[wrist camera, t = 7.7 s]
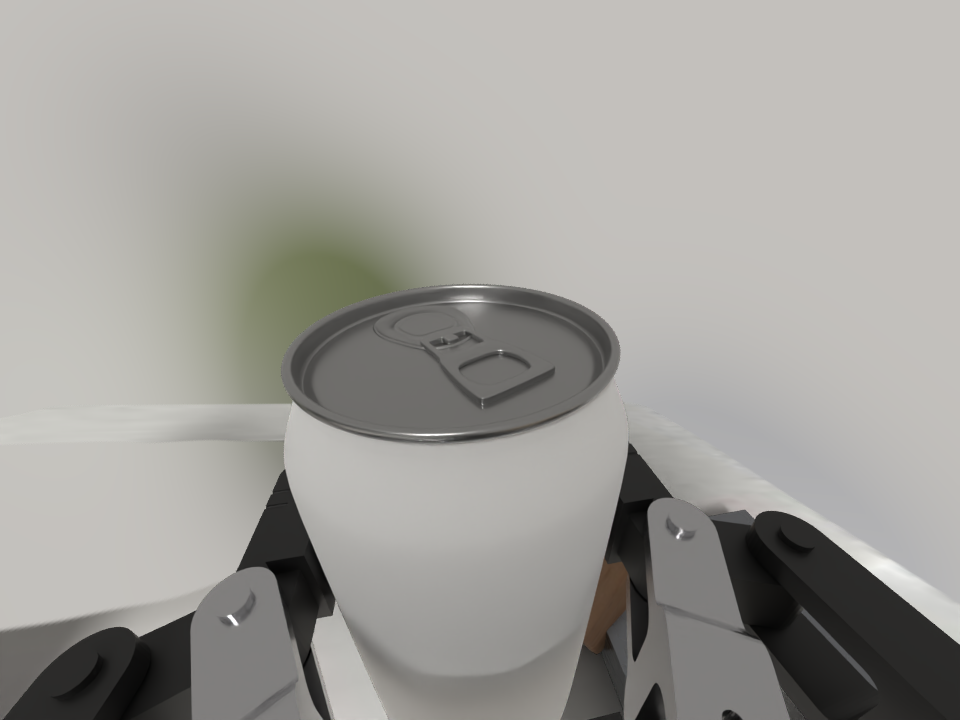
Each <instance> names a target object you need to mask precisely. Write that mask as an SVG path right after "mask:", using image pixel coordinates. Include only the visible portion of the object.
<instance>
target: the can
mask: <svg viewBox="0 0 960 720" xmlns="http://www.w3.org/2000/svg"><path fill="white" fill-rule="evenodd" d="M619 361H620V345H619V341H618V339H617V336H616V334H615V332H614V331H613V329H612V328H611V327H610V326H609V324H608V323H607V322H605V320H604V319H602V318H601V317H600V316H599V315H597V314H596V313H595V312H593V311H591V310H589V309H588V308H586V307H584V306H582V305H580V304H578V303H576V302H574V301H571V300H569V299H565V298H563V297H560V296H557V295H553V294H550V293H546V292H542V291H537V290H532V289H526V288H520V287H512V286H502V285H487V284H486V285H485V284H457V285H440V286H430V287H422V288H415V289H408V290H403V291H398V292H393V293H389V294H384V295H380V296H377V297H373V298H370V299H366V300H363V301H360V302H357V303H354V304H352V305H349V306H347V307H344V308H342V309H339V310H337V311H335V312H333V313H331V314H329V315H327V316H325V317H324V318H322V319H320V320H318V321H317V322H315V323H314V324H312V325H311V326H310V327H308V328H307V329H306V330H305V331H303V332H302V333H301V334H300V335H299V336H298V337H297V338H296V339H295V340H294V341H293V342H292V344H291V345H290V346H289V348H288V350H287V351H286V353H285V355H284V358H283V361H282V366H281V376H282V381H283V384H284V387H285V389H286V391H287V393H288V395H289V396H290V397H291V399H292V400H293V402H292V406H291V410H290V414H289V418H288V423H287V428H286V433H285V440H284V465H285V470H286V474H287V478H288V482H289V486H290V489H291V492H292V495H293V498H294V500H295V503H296V506H297V508H298V511H299V514H300V516H301V519H302V521H303V524H304V526H305V528H306V531H307V533H308V536H309V538H310V540H311V543H312V545H313V548H314V550H315V552H316V555H317V557H318V559H319V562H320V564H321V566H322V569H323V571H324V573H325V576H326V578H327V580H328V583H329V585H330V587H331V590H332V592H333V594H334V597H335V599H336V601H337V604H338V606H339V608H340V611H341V613H342V615H343V617H344V620H345V622H346V624H347V627H348V629H349V631H350V634H351V636H352V638H353V640H354V643H355V645H356V647H357V650H358V652H359V654H360V656H361V659H362V661H363V663H364V665H365V668H366V670H367V672H368V675H369V677H370V679H371V681H372V684H373V686H374V688H375V690H376V693H377V695H378V697H379V699H380V702H381V704H382V706H383V708H384V710H385V712H386V715H387V717H388V719H389V720H560V719H561V717H562V715H563V712H564V709H565V706H566V703H567V700H568V697H569V694H570V690H571V686H572V683H573V679H574V675H575V671H576V667H577V664H578V660H579V656H580V652H581V648H582V644H583V640H584V636H585V632H586V628H587V624H588V621H589V617H590V613H591V609H592V605H593V601H594V597H595V593H596V589H597V585H598V581H599V577H600V573H601V568H602V564H603V560H604V556H605V552H606V548H607V544H608V540H609V536H610V532H611V528H612V523H613V519H614V515H615V511H616V506H617V502H618V498H619V494H620V489H621V485H622V480H623V475H624V470H625V465H626V460H627V453H628V442H629V427H628V420H627V415H626V411H625V407H624V404H623V401H622V398H621V395H620V392H619V389H618V387H617V384H616V382H615V379H614V374H615V372H616V370H617V368H618V364H619Z"/></svg>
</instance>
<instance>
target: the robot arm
mask: <svg viewBox="0 0 960 720" xmlns="http://www.w3.org/2000/svg"><path fill="white" fill-rule="evenodd" d="M604 558H605V560H606V562H607V564H612V563H617V562H622V563H623V565H624V567H625V568H626V570H627V572H628V574H627V577H626V611H627V654H628V668H627V679H626V686H625V696H624V720H790V718H789V714H788V711H787V708H786V705H785V702H784V698H783V695H782V692H781V689H780V686H781V687H782V689H783V690H784V691H785V693H786V694H787V695H788V696H789V698H790V699H791V700H792V701H793V703H794V704H795V705H796V707H797V708H798V709H799V710H800V712H801V713H802V714H803V715H804V717H805V718H806V719H807V720H960V645H959V644H958V643H957V642H956V641H954V640H953V639H952V638H951V637H949V636H948V635H947V634H946V633H945V632H943V631H942V630H941V629H940V628H938V627H937V626H936V625H935V624H933V623H932V622H931V621H930V620H929V619H927V618H926V617H925V616H924V615H922V614H921V613H920V612H919V611H917V610H916V609H915V608H914V607H913V606H911V605H910V604H909V603H908V602H906V601H905V600H904V599H903V598H901V597H900V596H899V595H898V594H897V593H895V592H894V591H893V590H892V589H890V588H889V587H888V586H887V585H885V584H884V583H883V582H882V581H881V580H879V579H878V578H877V577H876V576H874V575H873V574H872V573H871V572H869V571H868V570H867V569H866V568H865V567H863V566H862V565H861V564H860V563H858V562H857V561H856V560H855V559H853V558H852V557H851V556H850V555H848V554H847V553H846V552H845V551H844V550H842V549H841V548H840V547H839V546H837V545H836V544H835V543H834V542H832V541H831V540H830V539H829V538H828V537H826V536H825V535H824V534H823V533H821V532H820V531H819V530H818V529H816V528H815V527H813V526H812V525H810V524H809V523H807V522H805V521H803V520H802V519H800V518H797V517H795V516H793V515H790V514H787V513H783V512H778V511H766V512H762V513H760V514H759V515H757V517H756V518H755V520H754V522H753V524H752V525H746V524H739V523H731V522H724V521H717V520H711V519H709V517H708V516H707V515H706V514H705V513H703V512H702V511H701V510H700V509H698V508H697V507H695V506H694V505H692V504H690V503H688V502H685V501H683V500H679V499H675V498H673V497H672V495H671V494H670V493H669V492H668V490H667V489H666V488H665V487H664V485H663V484H662V483H661V482H660V480H659V479H658V478H657V476H656V475H655V474H654V473H653V471H652V470H651V469H650V468H649V466H648V465H647V464H646V462H645V461H644V460H643V459H642V457H641V456H640V455H638V454H637V451H636V450H635V448H634V447H633V446H632V445H631V444H629V442H628V453H627V460H626V465H625V470H624V475H623V480H622V485H621V489H620V494H619V498H618V502H617V506H616V511H615V515H614V519H613V523H612V528H611V532H610V536H609V540H608V544H607V548H606V552H605V556H604ZM335 600H336V599H335V597H334V594H333V592H332V590H331V587H330V585H329V583H328V580H327V578H326V576H325V573H324V571H323V569H322V566H321V564H320V562H319V559H318V557H317V555H316V552H315V550H314V548H313V545H312V543H311V540H310V538H309V536H308V533H307V531H306V528H305V526H304V524H303V521H302V519H301V516H300V514H299V511H298V508H297V506H296V503H295V500H294V498H293V495H292V492H291V489H290V486H289V482H288V478H287V474H286V470H284V471H283V472H282V473H281V474H280V476H279V478H278V480H277V483H276V485H275V487H274V489H273V494H272V495H271V496H270V498H269V500H268V503H267V505H266V509H265V510H264V512H263V514H262V516H261V518H260V521H259V523H258V525H257V527H256V529H255V532H254V534H253V536H252V538H251V541H250V543H249V545H248V547H247V549H246V552H245V554H244V556H243V559H242V561H241V563H240V565H239V567H238V569H237V571H236V573H234V574H232V575H230V576H229V577H227V578H225V579H224V580H223V581H221V582H220V583H219V584H218V585H216V586H215V587H214V588H213V589H212V590H211V591H210V592H209V593H208V594H207V596H206V597H205V598H204V599H203V601H202V602H201V603H200V605H199V607H198V608H197V610H196V611H194V612H192V613H190V614H188V615H186V616H184V617H182V618H180V619H177V620H175V621H173V622H171V623H169V624H167V625H165V626H162V627H160V628H158V629H156V630H154V631H152V632H149V633H147V634H145V635H143V636H141V637H138V636H137V635H135V634H134V633H133V632H132V631H131V630H129V629H128V628H124V627H114V628H108V629H105V630H102V631H99V632H97V633H95V634H92V635H90V636H89V637H87V638H85V639H83V640H81V641H80V642H78V643H77V644H75V645H74V646H72V647H71V648H69V649H68V650H67V651H65V652H64V653H63V654H61V655H60V656H59V657H58V658H57V659H56V660H54V661H53V662H52V663H51V664H50V665H49V666H48V667H47V668H46V669H45V670H44V671H43V672H42V673H41V674H40V675H39V677H38V678H37V679H36V680H35V681H34V682H33V684H32V685H31V686H30V687H29V688H28V690H27V691H26V692H25V693H24V694H23V696H22V697H21V698H20V699H19V701H18V702H17V703H16V704H15V705H14V707H13V708H12V709H11V710H10V712H9V713H8V714H7V715H6V716H5V718H4V719H3V720H335V719H334V715H333V712H332V708H331V705H330V701H329V698H328V694H327V690H326V687H325V683H324V680H323V676H322V673H321V669H320V665H319V662H318V658H317V655H316V651H315V648H314V644H313V642H312V637H313V633H314V628H315V624H316V619H317V618H322V617H327V616H332V615H333V610H334V605H335ZM804 609H805V610H806V611H807V612H808V613H809V614H810V615H811V616H812V617H813V618H814V619H815V620H816V621H817V622H818V623H819V624H820V625H821V626H822V627H823V628H824V629H825V630H826V631H827V632H828V633H829V635H830V636H831V637H832V638H833V639H834V640H835V641H836V642H837V643H838V644H839V645H840V646H841V647H842V648H843V649H844V650H845V651H846V652H847V653H848V654H849V655H850V656H851V657H852V658H853V659H854V660H855V661H856V662H857V663H858V664H859V665H860V666H861V667H862V668H863V669H864V670H865V672H866V673H867V674H868V675H869V676H870V678H871V679H872V681H873V682H874V684H875V685H876V687H877V689H878V690H877V689H875V688H874V687H873V686H872V685H871V684H870V683H869V682H868V681H867V680H866V679H865V678H864V677H863V676H862V675H861V674H860V673H859V672H858V671H857V670H856V669H855V668H854V667H853V666H852V664H851V663H850V662H849V661H848V660H847V659H846V658H845V657H844V656H843V655H842V654H841V653H840V652H839V651H838V650H837V649H836V648H835V647H834V646H833V645H832V644H831V643H830V642H829V641H828V640H827V639H826V637H825V636H824V635H823V634H822V633H821V632H820V631H819V630H818V629H817V628H816V627H815V626H814V625H813V624H812V623H811V622H810V621H809V620H808V619H807V618H806V617H805V616H804V615H803V614H802V613H801V612H802V611H803V610H804ZM779 685H780V686H779ZM589 720H622V717H621V714H620V712H617V713H613V714H609V715H605V716H601V717H597V718H593V719H589Z"/></svg>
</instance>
